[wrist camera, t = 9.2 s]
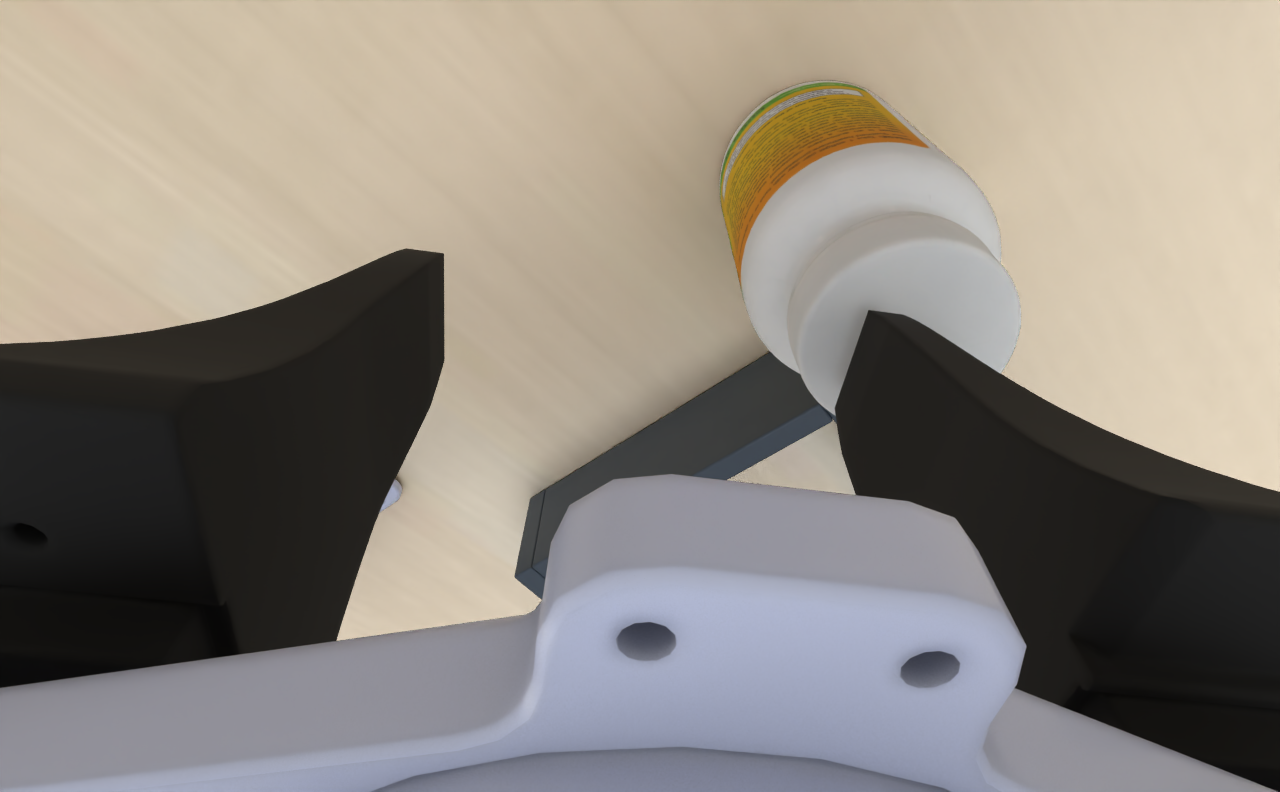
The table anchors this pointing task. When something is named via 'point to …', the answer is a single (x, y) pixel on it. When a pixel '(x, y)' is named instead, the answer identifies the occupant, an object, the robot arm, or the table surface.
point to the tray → (685, 448)
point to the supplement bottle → (858, 233)
